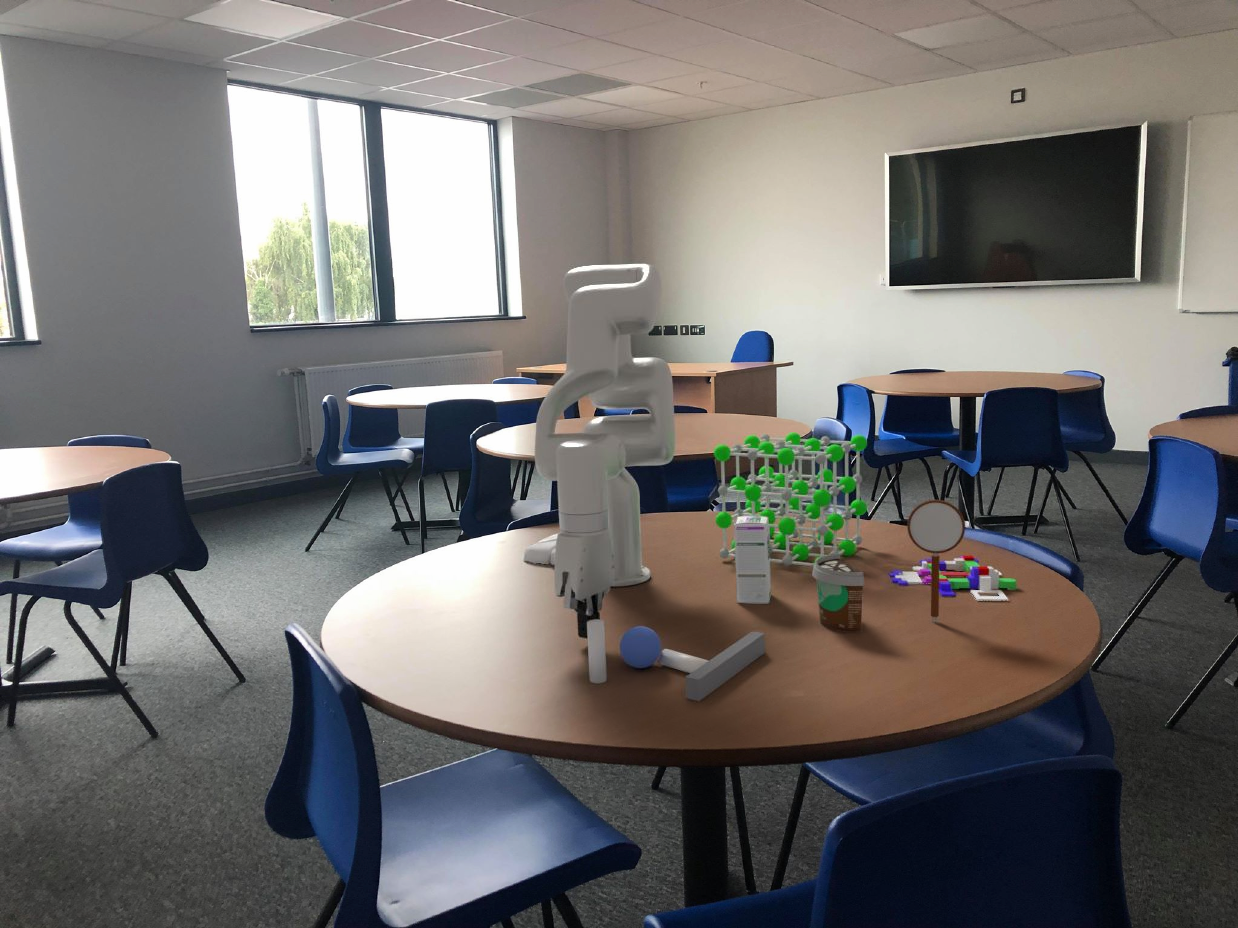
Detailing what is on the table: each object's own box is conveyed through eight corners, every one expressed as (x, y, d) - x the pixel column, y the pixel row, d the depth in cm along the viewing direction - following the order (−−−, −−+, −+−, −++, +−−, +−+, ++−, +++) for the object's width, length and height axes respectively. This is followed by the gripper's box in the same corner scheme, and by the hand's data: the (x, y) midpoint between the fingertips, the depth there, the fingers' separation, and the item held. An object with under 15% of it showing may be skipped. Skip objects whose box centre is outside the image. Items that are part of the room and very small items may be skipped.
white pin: (657, 660, 135) (703, 674, 129) (664, 645, 136) (710, 658, 130) (665, 667, 136) (711, 681, 130) (672, 653, 137) (718, 666, 131)
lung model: (513, 562, 197) (585, 546, 217) (578, 574, 187) (646, 556, 207) (514, 531, 196) (585, 518, 217) (579, 541, 186) (647, 527, 207)
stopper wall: (686, 698, 124) (685, 676, 123) (752, 650, 140) (752, 631, 140) (699, 701, 123) (698, 679, 122) (764, 652, 139) (764, 633, 138)
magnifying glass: (963, 622, 149) (965, 499, 145) (963, 625, 147) (965, 501, 144) (906, 618, 151) (907, 498, 148) (906, 621, 150) (907, 500, 147)
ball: (646, 682, 133) (622, 667, 138) (675, 654, 135) (650, 640, 140) (629, 653, 130) (605, 639, 135) (658, 625, 132) (634, 612, 137)
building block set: (883, 565, 185) (883, 543, 184) (991, 565, 182) (992, 543, 181) (901, 604, 161) (901, 579, 160) (1026, 605, 157) (1027, 580, 157)
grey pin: (586, 681, 131) (583, 623, 129) (596, 675, 133) (593, 618, 131) (600, 684, 130) (597, 625, 128) (609, 678, 131) (607, 620, 130)
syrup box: (769, 604, 162) (768, 522, 159) (735, 603, 163) (733, 522, 160) (771, 594, 167) (769, 515, 165) (737, 593, 168) (736, 515, 166)
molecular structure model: (869, 546, 197) (869, 433, 194) (828, 576, 177) (827, 450, 173) (763, 535, 210) (761, 429, 206) (713, 562, 190) (710, 445, 186)
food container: (803, 612, 156) (802, 555, 155) (839, 610, 157) (839, 552, 155) (825, 637, 144) (825, 575, 143) (864, 635, 145) (864, 572, 143)
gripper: (592, 509, 150) (597, 619, 153) (533, 529, 138) (540, 648, 140) (631, 514, 146) (635, 626, 148) (574, 534, 133) (580, 656, 136)
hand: (589, 636), depth 144 cm, fingers closed
